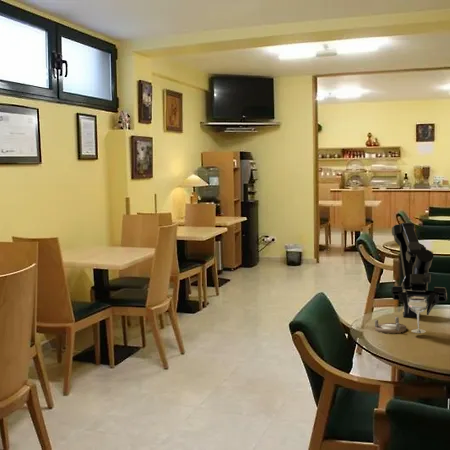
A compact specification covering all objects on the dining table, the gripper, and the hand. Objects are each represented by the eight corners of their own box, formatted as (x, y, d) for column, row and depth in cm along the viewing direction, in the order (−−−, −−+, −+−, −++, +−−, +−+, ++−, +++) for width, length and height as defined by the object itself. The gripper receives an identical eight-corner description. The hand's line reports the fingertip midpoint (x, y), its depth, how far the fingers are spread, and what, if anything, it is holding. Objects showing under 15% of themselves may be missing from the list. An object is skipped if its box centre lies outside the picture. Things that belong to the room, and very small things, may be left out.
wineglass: (416, 334, 197) (415, 301, 196) (404, 330, 203) (403, 297, 202) (432, 332, 199) (431, 298, 198) (420, 327, 205) (419, 295, 204)
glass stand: (375, 325, 218) (375, 316, 218) (405, 325, 215) (405, 316, 215) (375, 333, 208) (374, 324, 207) (406, 333, 205) (406, 324, 204)
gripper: (390, 264, 207) (386, 300, 198) (445, 264, 198) (443, 303, 190) (395, 281, 214) (391, 316, 206) (447, 282, 206) (446, 319, 197)
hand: (417, 313), depth 199 cm, fingers closed on wineglass, 6 cm apart
